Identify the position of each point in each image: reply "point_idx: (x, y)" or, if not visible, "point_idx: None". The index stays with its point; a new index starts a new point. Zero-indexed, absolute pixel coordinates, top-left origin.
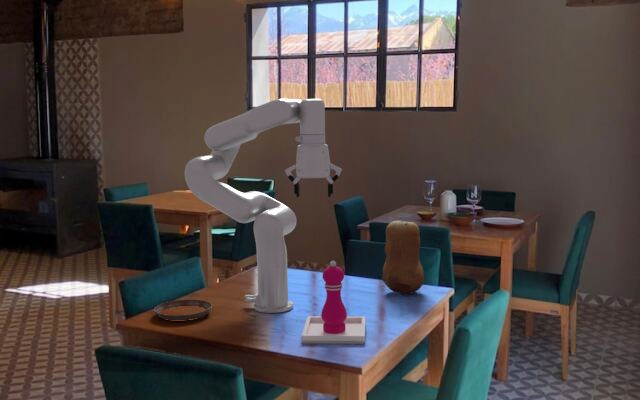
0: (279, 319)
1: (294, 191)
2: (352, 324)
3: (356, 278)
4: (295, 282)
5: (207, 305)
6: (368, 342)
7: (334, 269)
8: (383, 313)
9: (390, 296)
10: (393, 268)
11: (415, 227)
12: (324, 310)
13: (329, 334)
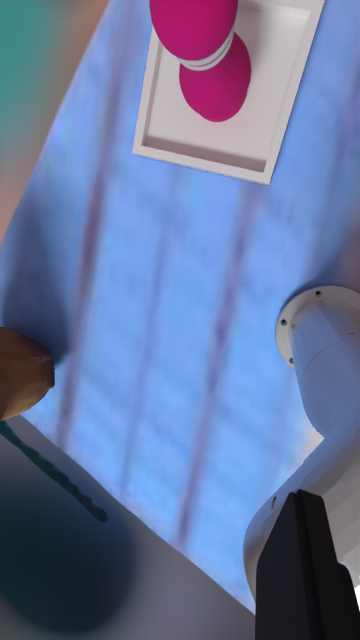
0: (331, 235)
1: (353, 595)
2: (168, 134)
3: (104, 476)
4: (231, 497)
5: None
6: None
7: None
8: (89, 226)
9: (59, 340)
10: (11, 358)
11: None
12: (244, 45)
13: None
